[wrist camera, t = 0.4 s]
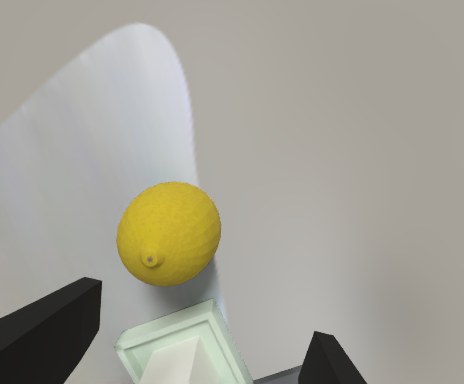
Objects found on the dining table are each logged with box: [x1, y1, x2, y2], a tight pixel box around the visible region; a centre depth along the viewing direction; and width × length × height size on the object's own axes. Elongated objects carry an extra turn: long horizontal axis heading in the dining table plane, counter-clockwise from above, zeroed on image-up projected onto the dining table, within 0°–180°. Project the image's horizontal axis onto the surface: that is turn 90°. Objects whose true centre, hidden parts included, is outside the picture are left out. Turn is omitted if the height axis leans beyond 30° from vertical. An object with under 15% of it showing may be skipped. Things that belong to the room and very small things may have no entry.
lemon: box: [116, 182, 221, 286], centre depth 15 cm, size 6×6×8 cm
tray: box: [114, 298, 253, 384], centre depth 21 cm, size 8×8×2 cm
